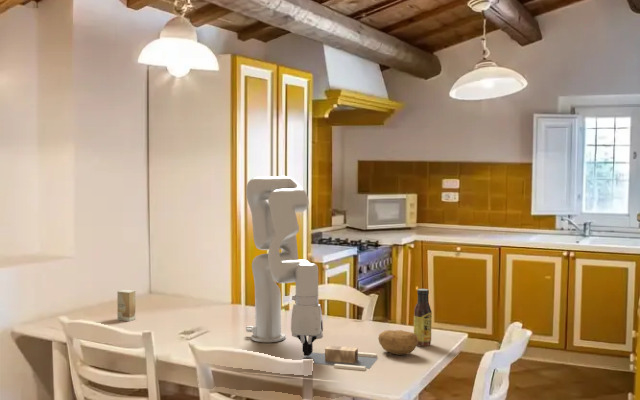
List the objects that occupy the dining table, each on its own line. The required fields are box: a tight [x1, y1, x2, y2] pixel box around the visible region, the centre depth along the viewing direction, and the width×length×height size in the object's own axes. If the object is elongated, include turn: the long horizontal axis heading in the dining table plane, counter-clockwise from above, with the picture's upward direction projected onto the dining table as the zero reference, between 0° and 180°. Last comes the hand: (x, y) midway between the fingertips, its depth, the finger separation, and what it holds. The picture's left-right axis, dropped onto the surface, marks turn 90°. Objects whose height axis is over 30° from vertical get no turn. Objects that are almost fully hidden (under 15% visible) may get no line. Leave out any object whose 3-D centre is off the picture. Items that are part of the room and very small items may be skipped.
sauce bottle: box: [413, 288, 433, 347], centre depth 250 cm, size 6×6×20 cm
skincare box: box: [116, 289, 136, 322], centre depth 292 cm, size 6×4×12 cm
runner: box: [301, 351, 379, 371], centre depth 232 cm, size 24×16×1 cm
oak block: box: [324, 345, 359, 363], centre depth 231 cm, size 4×4×10 cm
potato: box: [377, 329, 418, 356], centre depth 239 cm, size 10×14×8 cm
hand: (307, 354), depth 235 cm, fingers closed
